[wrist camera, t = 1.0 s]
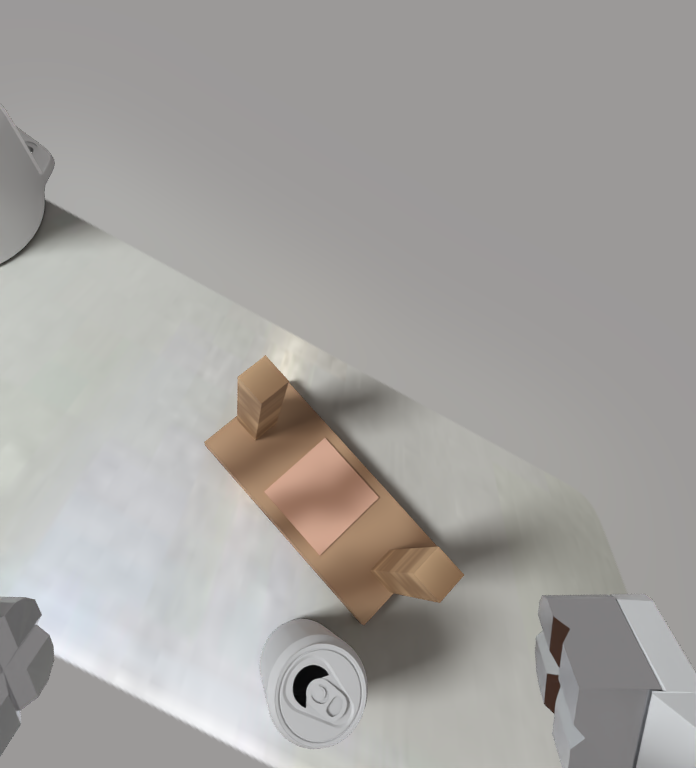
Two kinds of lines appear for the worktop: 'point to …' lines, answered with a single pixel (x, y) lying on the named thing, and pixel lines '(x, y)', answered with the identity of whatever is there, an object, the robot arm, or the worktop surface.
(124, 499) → the worktop surface
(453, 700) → the worktop surface
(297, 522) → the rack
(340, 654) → the beverage can
